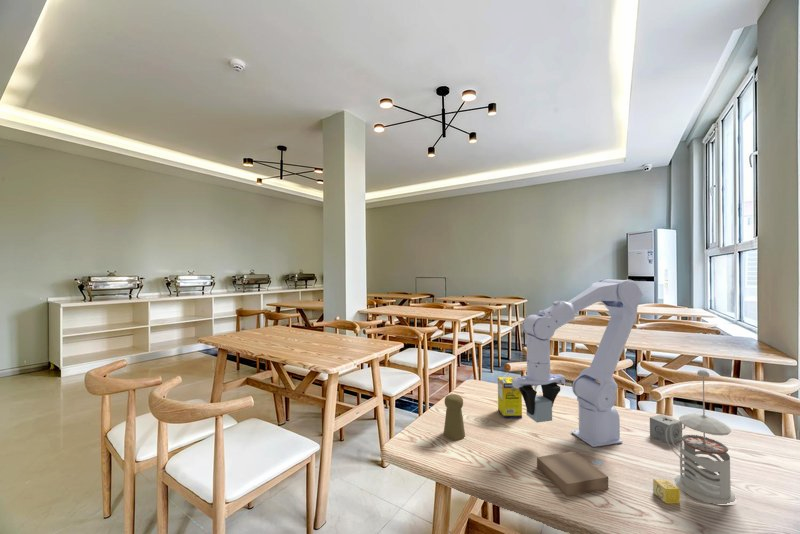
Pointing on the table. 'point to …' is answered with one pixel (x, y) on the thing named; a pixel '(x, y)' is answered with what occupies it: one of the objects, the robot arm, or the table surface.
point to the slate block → (542, 409)
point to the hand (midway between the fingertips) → (539, 412)
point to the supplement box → (509, 398)
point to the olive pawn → (454, 418)
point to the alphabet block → (666, 491)
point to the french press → (704, 458)
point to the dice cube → (659, 429)
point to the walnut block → (572, 473)
